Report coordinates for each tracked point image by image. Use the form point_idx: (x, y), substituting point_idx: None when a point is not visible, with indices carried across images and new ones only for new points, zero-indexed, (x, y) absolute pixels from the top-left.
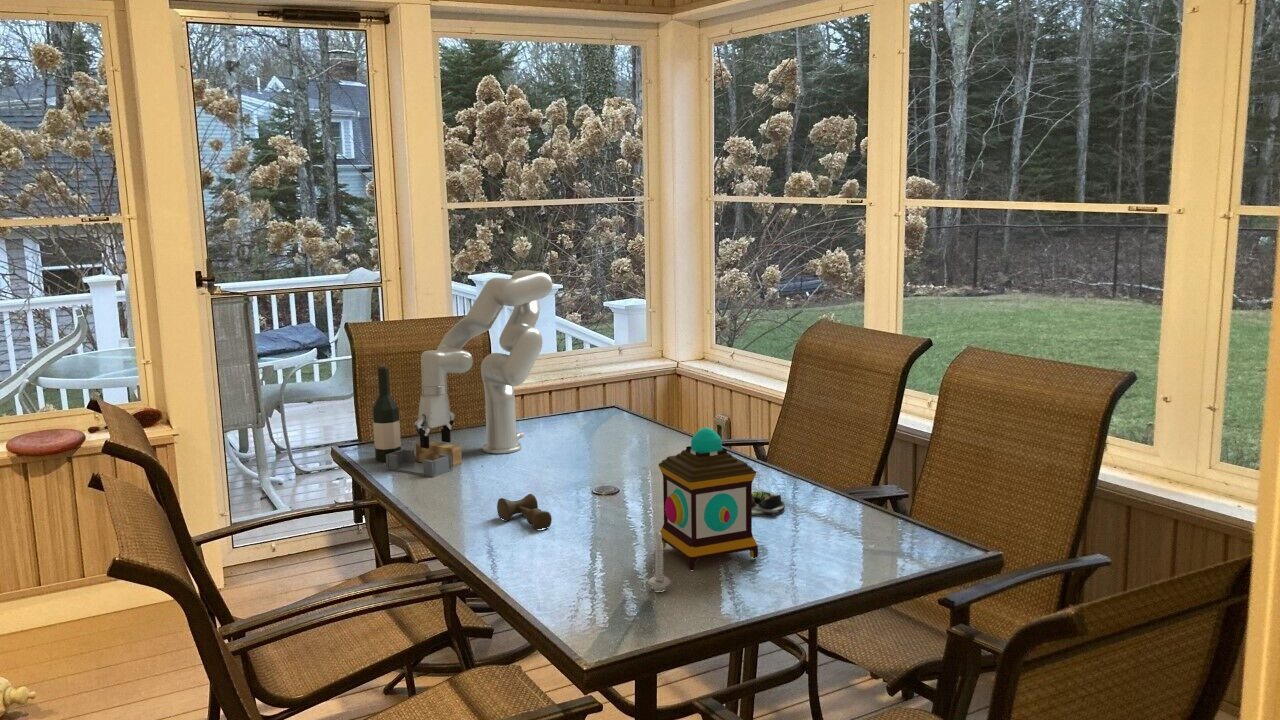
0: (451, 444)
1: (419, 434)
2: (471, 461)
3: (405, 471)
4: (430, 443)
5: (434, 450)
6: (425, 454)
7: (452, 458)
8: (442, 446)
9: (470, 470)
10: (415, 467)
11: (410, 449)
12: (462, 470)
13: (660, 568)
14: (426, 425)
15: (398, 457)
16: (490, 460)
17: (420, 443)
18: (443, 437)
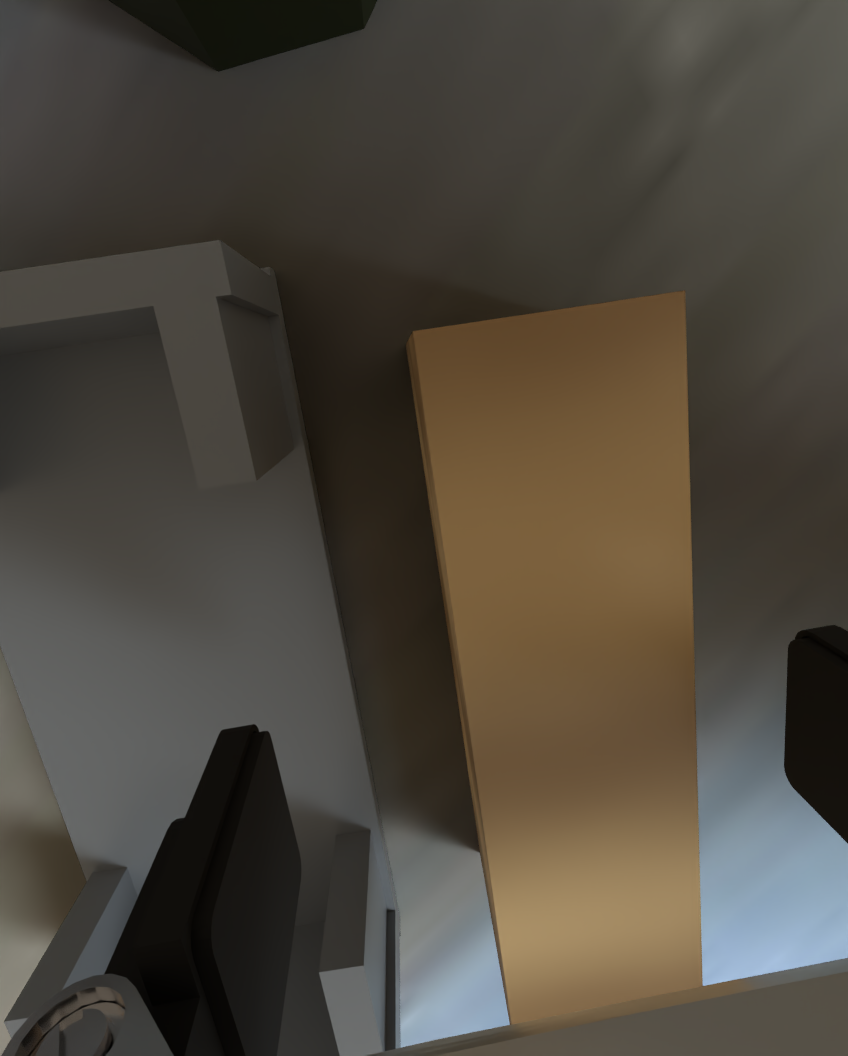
0: (699, 897)
1: (39, 1054)
2: (728, 832)
3: (10, 644)
4: (574, 587)
5: (467, 732)
6: (435, 530)
7: (493, 929)
8: (533, 889)
9: (489, 1025)
10: (161, 640)
11: (233, 404)
12: (448, 982)
13: None
14: (564, 1051)
15: (47, 335)
16: (837, 930)
17: (208, 775)
18: (844, 719)
